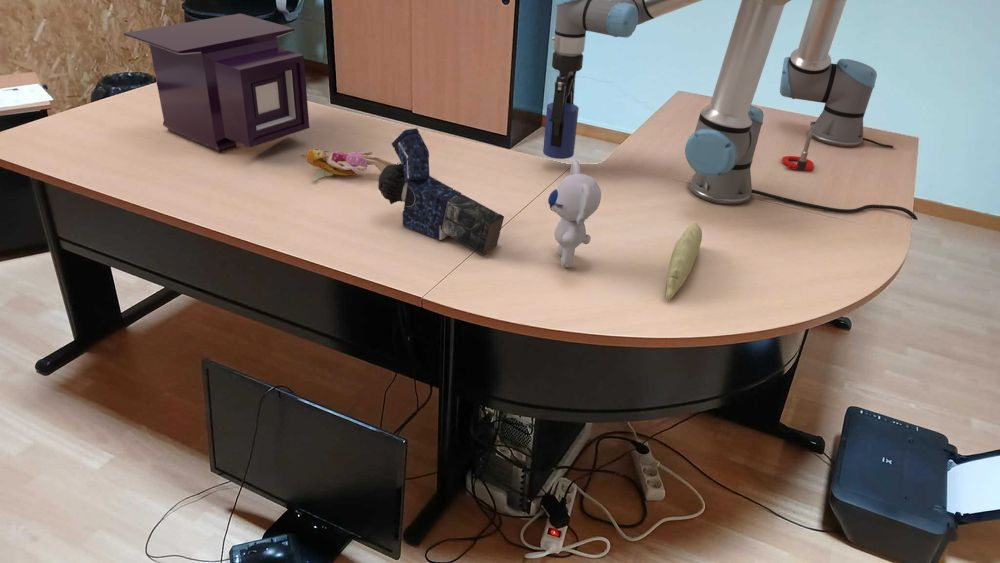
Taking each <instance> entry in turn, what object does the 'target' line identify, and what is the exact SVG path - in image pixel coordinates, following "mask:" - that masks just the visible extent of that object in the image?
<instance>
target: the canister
mask: <svg viewBox="0 0 1000 563" xmlns="http://www.w3.org/2000/svg"><path fill="white" fill-rule="evenodd" d="M552 108H553V102H550V103H548V104H547V105H546V112H545V126H544V136H543V137H544V138H543V148H542V153H543V155H544V156H546V157H548V158H552V159H557V160H565V159H570V158H572V157H573V156H574V154H575V147H576V146H575V145H576V139H577V138H576V136H577V126H578V117H579V111H580V110H579V109H580V108H579V106H578V105H576V104H571V103H566V105H565V111H564V116H563V122H564V124H563V134H562V144H561V147H556V146H550V145H551V134H552V123H553V122H550V121H549V120H550V119H551V116H552ZM557 118H558V117H557Z"/></svg>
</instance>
